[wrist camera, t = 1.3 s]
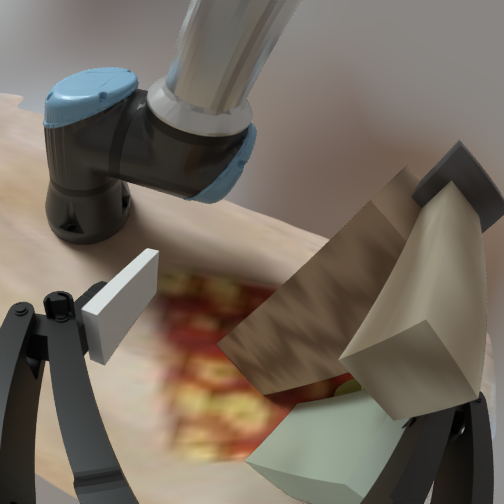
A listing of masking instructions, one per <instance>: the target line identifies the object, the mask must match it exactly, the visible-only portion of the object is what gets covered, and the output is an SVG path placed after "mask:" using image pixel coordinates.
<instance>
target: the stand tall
mask: <svg viewBox="0 0 504 504" xmlns="http://www.w3.org/2000/svg"><path fill="white" fill-rule="evenodd" d="M420 181H421V179H420V178H419V177H418V175H417V174H416V173H415V172H414V171H413V170H412V169H411V168H410V167H409V166H408V165H406V166H405V167H404V168H403V169H402V170H401V171H400V172H399V173H398V174H397V175H396V176H395V177H394V178H393V179H392V180H391V181H390V182H389V183H388V184H387V185H386V186H384V187H383V188H382V189H381V190H380V191H379V192H378V193H377V194H376V195H375V196H374V197H373V198H372V199H371V200H370V201H369V202H368V203H367V204H366V205H365V206H364V207H363V208H362V209H361V210H360V211H359V212H358V213H357V214H356V215H355V216H354V217H353V218H352V219H351V220H350V221H349V222H348V223H347V224H346V225H345V226H344V227H343V228H342V229H341V230H340V231H339V232H338V233H337V234H336V235H335V236H334V237H333V238H332V239H331V240H330V241H329V242H328V243H326V244H325V245H324V246H323V247H322V248H321V249H320V250H319V251H318V252H317V253H316V254H315V255H314V256H313V257H312V258H311V259H310V260H309V261H308V262H307V263H306V264H305V265H304V266H302V267H301V268H300V269H299V270H298V271H297V272H296V273H295V274H294V275H293V276H292V277H291V278H290V279H289V280H287V281H286V282H285V283H284V284H283V285H282V286H281V287H280V288H279V289H278V290H277V291H276V292H274V293H273V294H272V295H271V296H270V297H269V298H268V299H267V300H266V301H265V302H263V303H262V304H261V305H260V306H259V307H258V308H257V309H256V310H254V311H253V312H252V313H251V314H250V315H249V316H248V317H247V318H245V319H244V320H243V321H242V322H241V323H240V324H239V325H238V326H236V327H235V328H234V329H233V330H232V331H231V332H229V333H228V334H227V335H226V336H225V337H224V338H223V339H221V340H220V341H219V342H218V343H217V344H216V345H217V346H218V347H219V348H220V349H221V351H222V352H223V353H224V354H225V355H226V356H227V357H228V358H229V360H230V361H231V362H232V363H233V364H234V365H235V366H236V367H237V368H238V369H239V371H240V372H241V373H242V374H243V375H244V376H245V377H246V378H247V379H248V380H249V381H250V382H251V383H252V384H253V386H254V387H255V388H256V389H257V390H258V391H259V392H260V393H261V394H262V395H266V394H271V393H275V392H280V391H284V390H288V389H292V388H296V387H300V386H304V385H308V384H311V383H315V382H319V381H322V380H326V379H329V378H332V377H335V376H339V375H342V374H345V373H348V372H349V371H348V370H347V369H346V368H345V367H344V366H343V365H342V364H341V362H340V361H339V360H338V359H339V358H340V356H341V355H342V354H343V352H344V351H345V349H346V348H347V346H348V345H349V343H350V342H351V340H352V339H353V337H354V336H355V334H356V332H357V331H358V329H359V328H360V326H361V325H362V323H363V321H364V320H365V318H366V316H367V315H368V313H369V311H370V310H371V308H372V306H373V305H374V303H375V301H376V300H377V298H378V296H379V294H380V293H381V291H382V289H383V287H384V285H385V284H386V282H387V280H388V278H389V276H390V274H391V272H392V270H393V269H394V267H395V265H396V263H397V261H398V259H399V257H400V255H401V253H402V251H403V249H404V247H405V245H406V242H407V240H408V238H409V236H410V234H411V232H412V230H413V227H414V225H415V223H416V221H417V218H418V216H419V214H420V211H421V209H422V208H421V207H420V206H419V205H418V204H417V202H416V201H415V200H414V199H413V198H412V197H411V196H412V194H413V193H414V191H415V189H416V188H417V186H418V184H419V182H420Z"/></svg>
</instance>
